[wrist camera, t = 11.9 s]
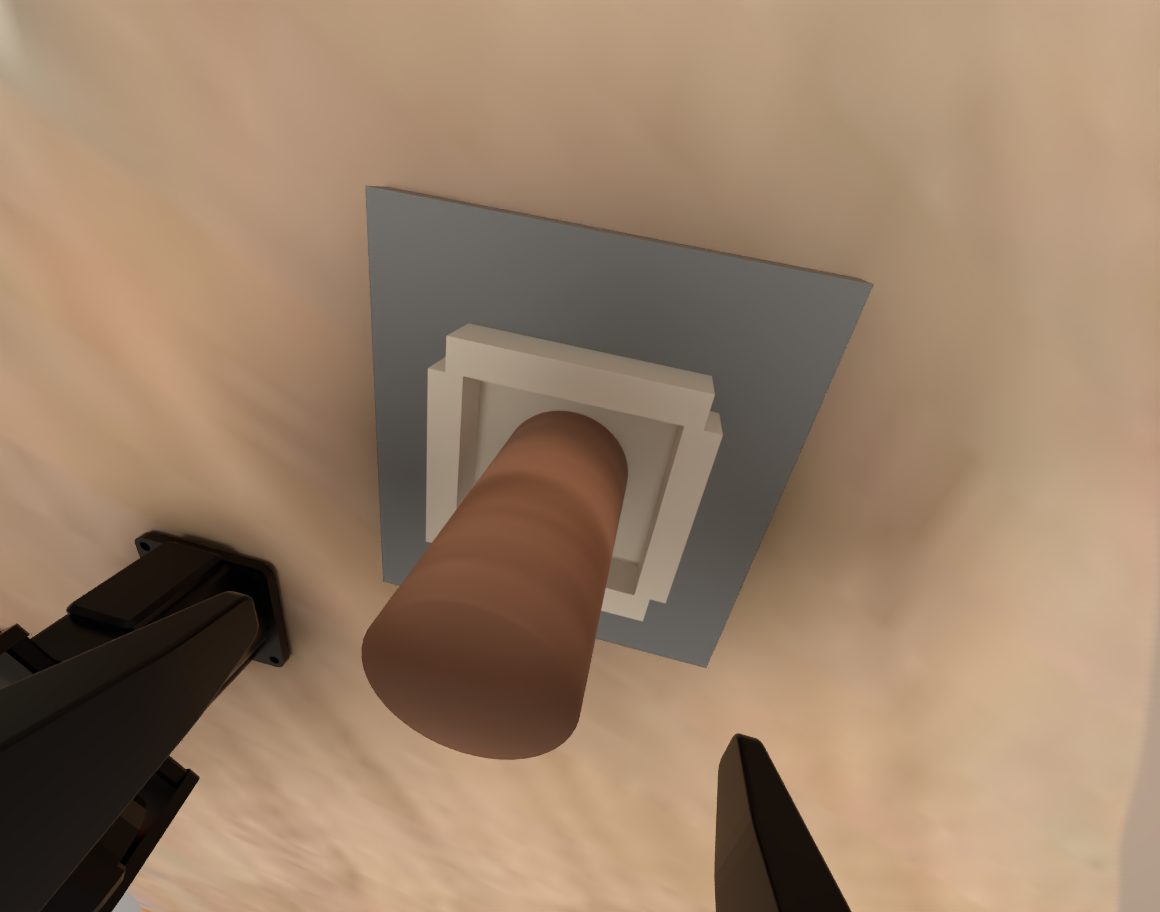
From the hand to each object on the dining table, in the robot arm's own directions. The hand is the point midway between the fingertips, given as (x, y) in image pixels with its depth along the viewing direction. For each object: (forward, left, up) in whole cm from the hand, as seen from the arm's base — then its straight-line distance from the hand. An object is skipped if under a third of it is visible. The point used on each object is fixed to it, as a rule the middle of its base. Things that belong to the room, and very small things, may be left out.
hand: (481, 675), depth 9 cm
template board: (0, 0, -9) cm, 9 cm away
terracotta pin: (0, 0, -8) cm, 8 cm away
